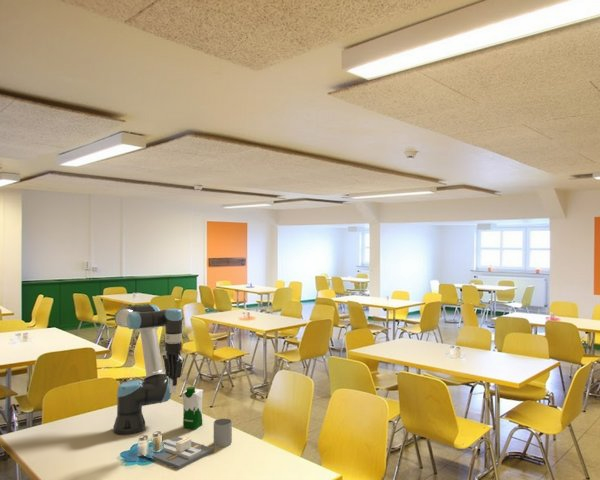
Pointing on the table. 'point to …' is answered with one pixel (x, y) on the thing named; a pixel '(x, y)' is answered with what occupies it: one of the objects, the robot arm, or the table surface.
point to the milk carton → (192, 408)
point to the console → (181, 453)
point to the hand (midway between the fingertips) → (172, 392)
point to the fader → (183, 444)
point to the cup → (222, 432)
